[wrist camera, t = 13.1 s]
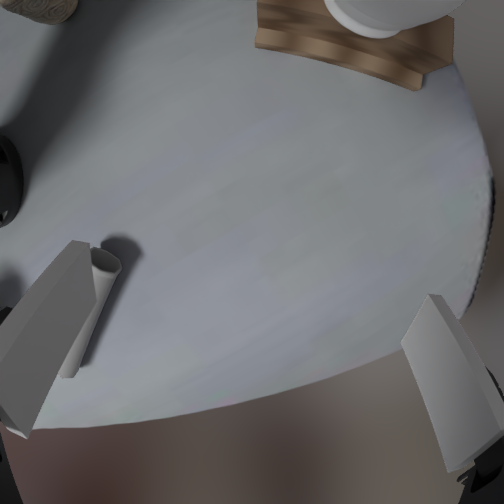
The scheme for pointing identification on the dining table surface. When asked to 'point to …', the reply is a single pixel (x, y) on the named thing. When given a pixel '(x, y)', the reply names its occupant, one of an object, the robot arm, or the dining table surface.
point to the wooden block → (354, 42)
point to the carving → (42, 9)
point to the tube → (104, 279)
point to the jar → (388, 14)
